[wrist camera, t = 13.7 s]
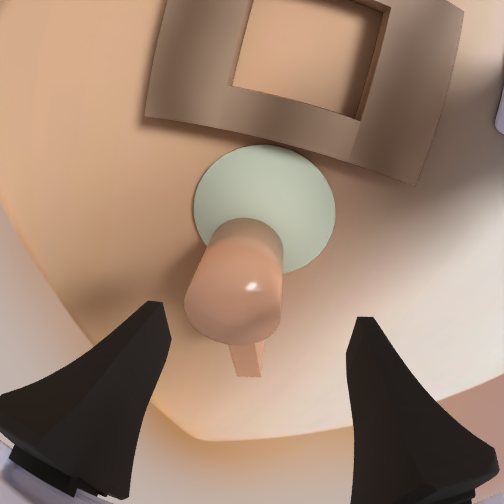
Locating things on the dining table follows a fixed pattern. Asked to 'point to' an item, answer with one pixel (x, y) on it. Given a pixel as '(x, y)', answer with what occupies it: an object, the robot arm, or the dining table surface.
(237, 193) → the sage mat
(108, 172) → the dining table surface
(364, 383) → the robot arm
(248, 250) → the peach rounded piece
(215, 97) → the walnut stand
